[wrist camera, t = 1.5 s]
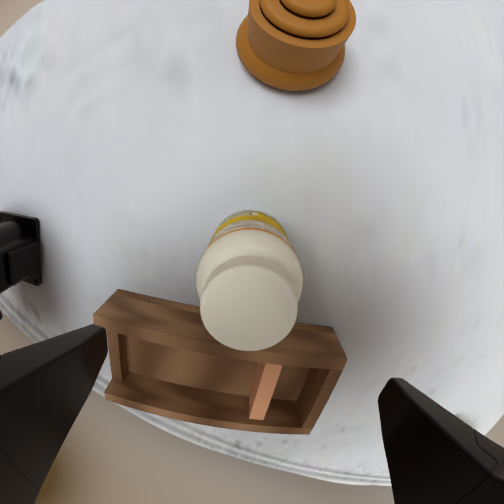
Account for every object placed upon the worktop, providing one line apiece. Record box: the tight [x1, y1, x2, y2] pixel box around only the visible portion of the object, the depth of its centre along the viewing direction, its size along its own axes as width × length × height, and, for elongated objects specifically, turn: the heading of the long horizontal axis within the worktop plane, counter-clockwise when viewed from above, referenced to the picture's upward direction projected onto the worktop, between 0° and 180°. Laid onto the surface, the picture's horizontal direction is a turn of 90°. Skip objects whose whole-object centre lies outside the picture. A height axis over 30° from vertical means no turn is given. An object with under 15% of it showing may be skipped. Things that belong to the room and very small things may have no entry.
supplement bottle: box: [196, 210, 303, 351], centre depth 16 cm, size 5×5×10 cm
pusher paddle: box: [249, 362, 283, 420], centre depth 21 cm, size 1×6×3 cm, turn 170°
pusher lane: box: [93, 289, 347, 434], centre depth 21 cm, size 18×9×4 cm, turn 79°
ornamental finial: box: [236, 0, 356, 91], centre depth 12 cm, size 8×8×8 cm
